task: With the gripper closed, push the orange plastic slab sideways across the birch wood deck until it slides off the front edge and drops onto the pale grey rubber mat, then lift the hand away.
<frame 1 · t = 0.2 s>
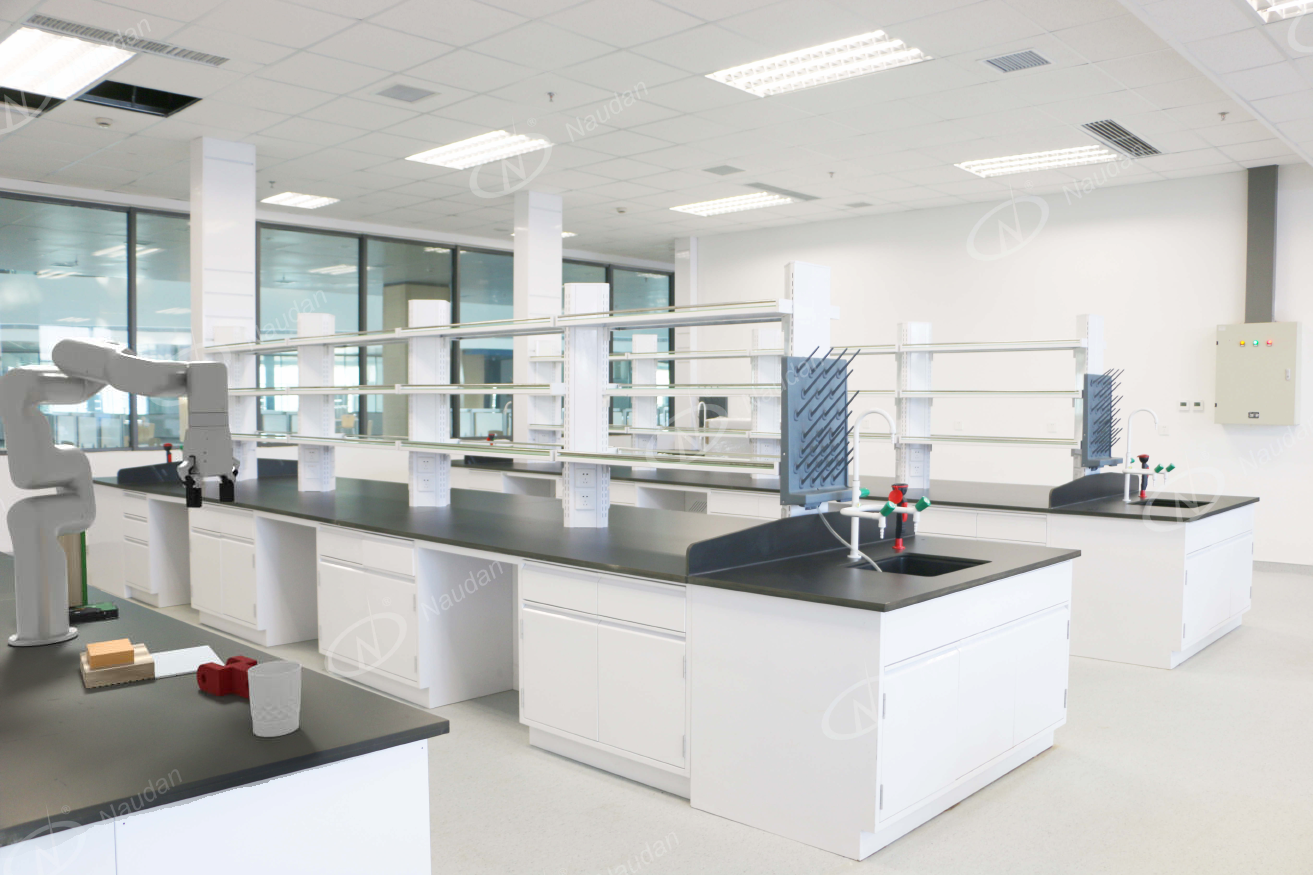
hand: (211, 504, 185), 31 cm above the counter, tool pointing down, fingers open, 9 cm apart
deck: (116, 672, 173), on the counter
hardback book: (63, 607, 229), on the counter
disk drive: (81, 620, 217), on the counter
mat: (183, 661, 180), on the counter
mechanical linkage: (238, 693, 162), on the counter
slab: (110, 658, 172), point 3 cm above the counter, touching deck
white cup: (276, 730, 143), on the counter
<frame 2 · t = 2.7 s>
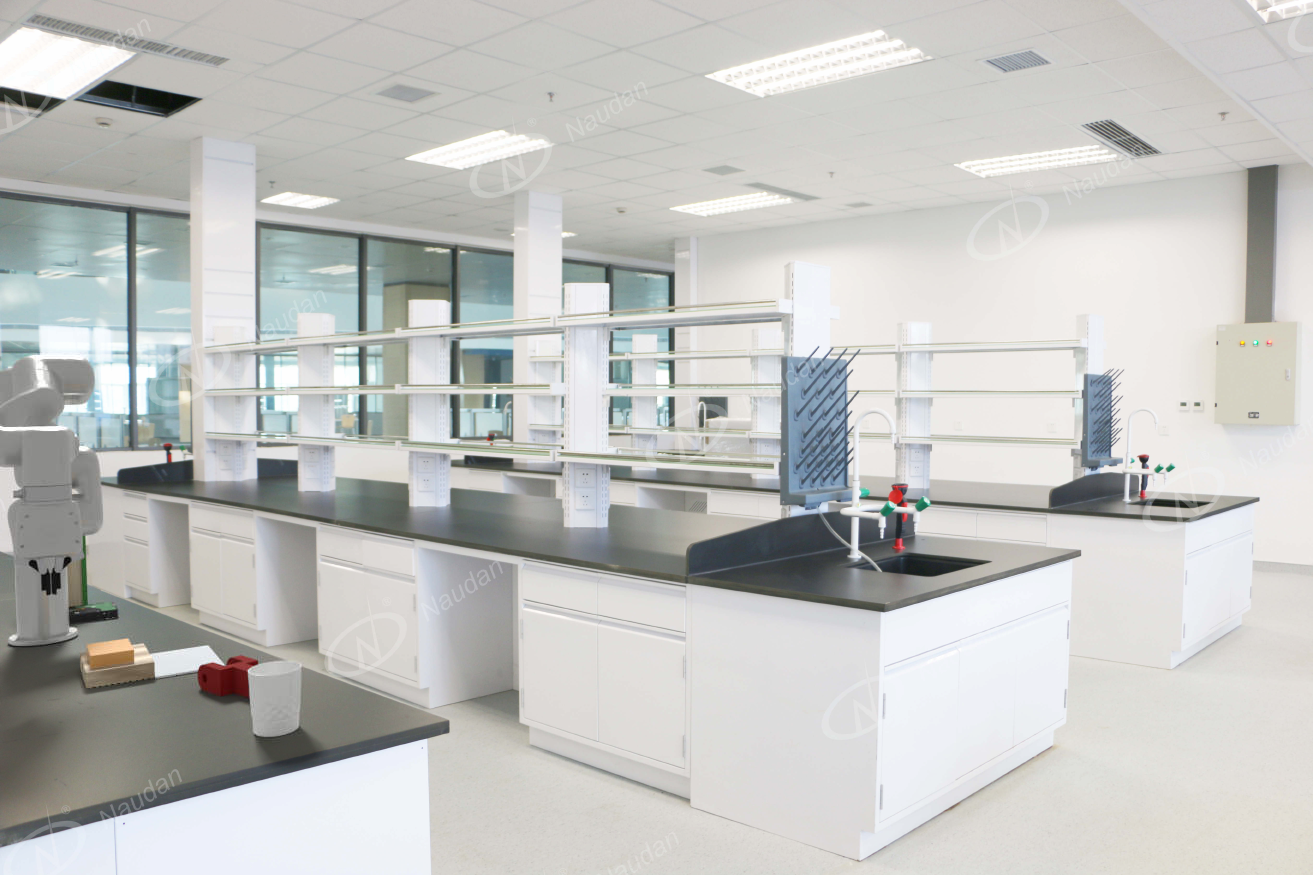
hand: (51, 593, 166), 17 cm above the counter, tool pointing down, fingers closed
nothing on the counter moved.
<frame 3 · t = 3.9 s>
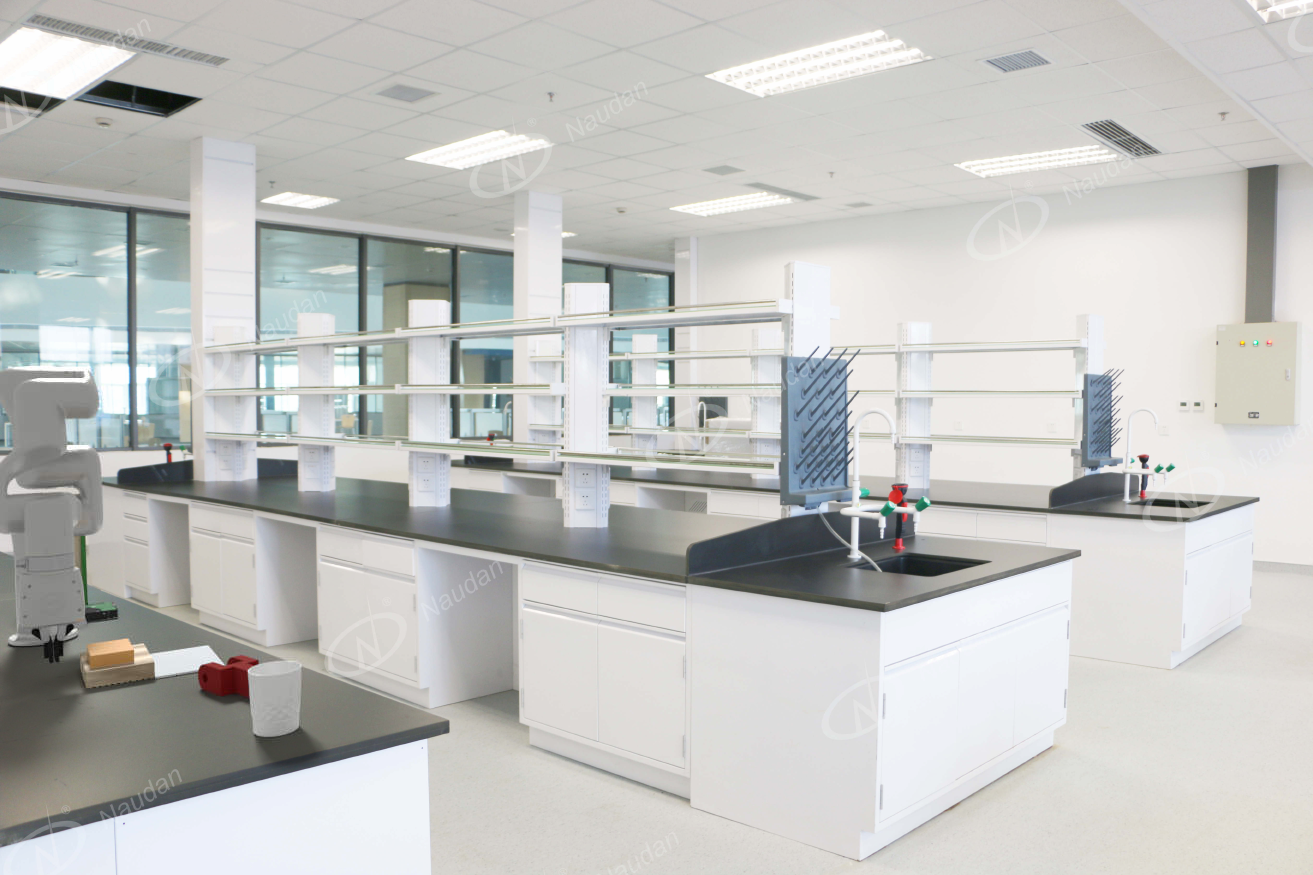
hand: (53, 660, 167), 4 cm above the counter, tool pointing down, fingers closed
nothing on the counter moved.
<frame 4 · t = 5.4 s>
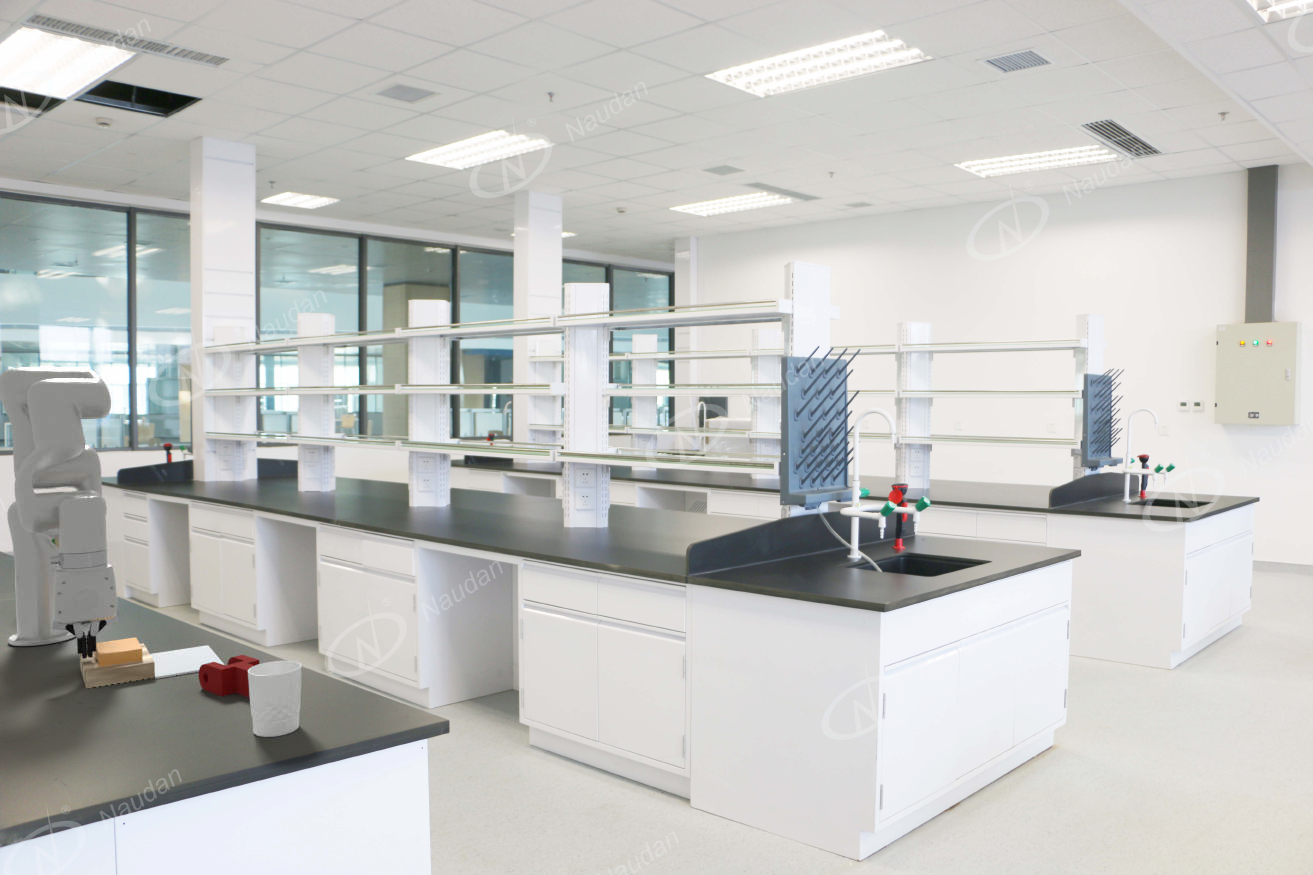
hand: (87, 656, 170), 4 cm above the counter, tool pointing down, fingers closed
slab: (118, 656, 173), point 3 cm above the counter, touching deck
everything else where it was.
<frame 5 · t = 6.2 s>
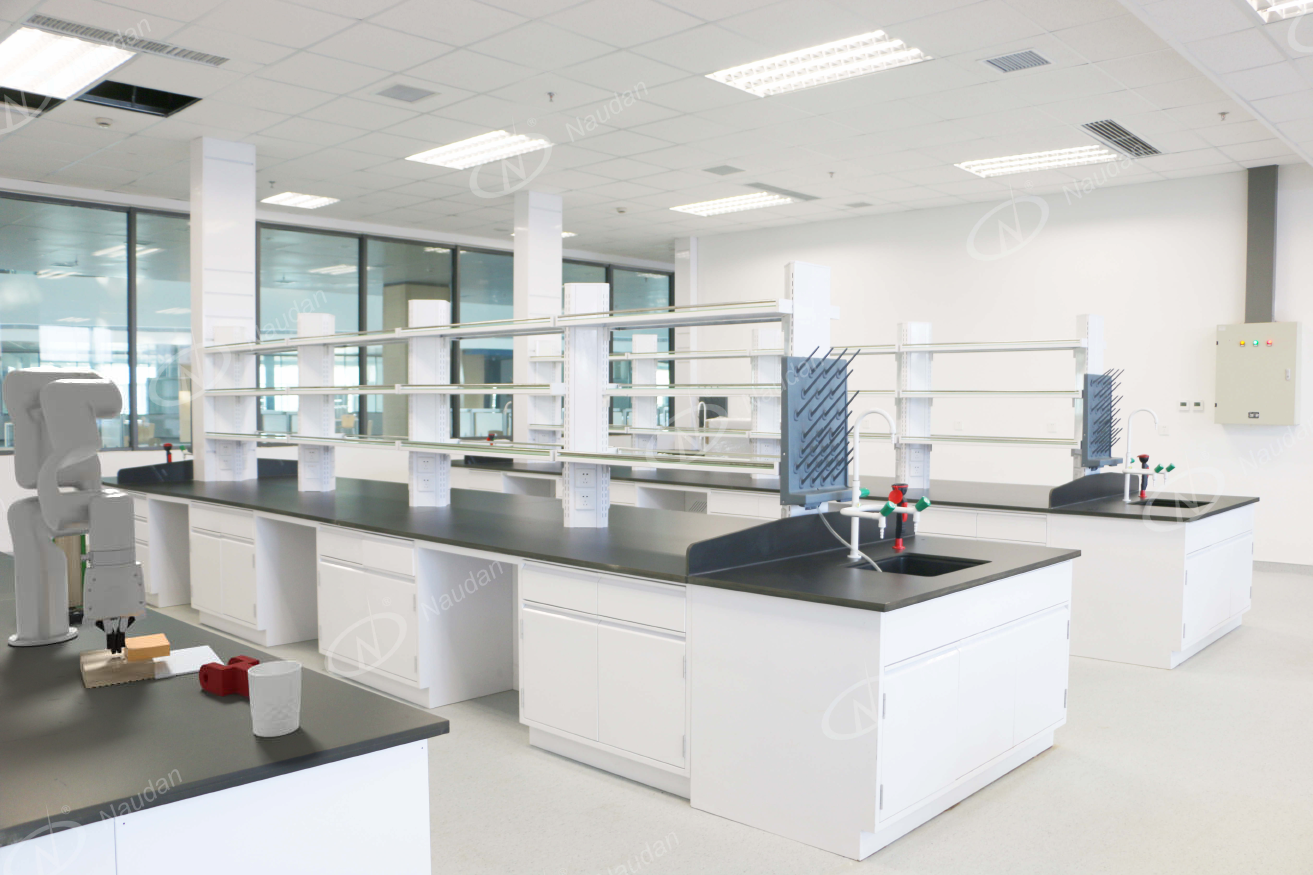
hand: (116, 651, 173), 4 cm above the counter, tool pointing down, fingers closed
slab: (146, 652, 176), point 3 cm above the counter, touching gripper
everything else where it was.
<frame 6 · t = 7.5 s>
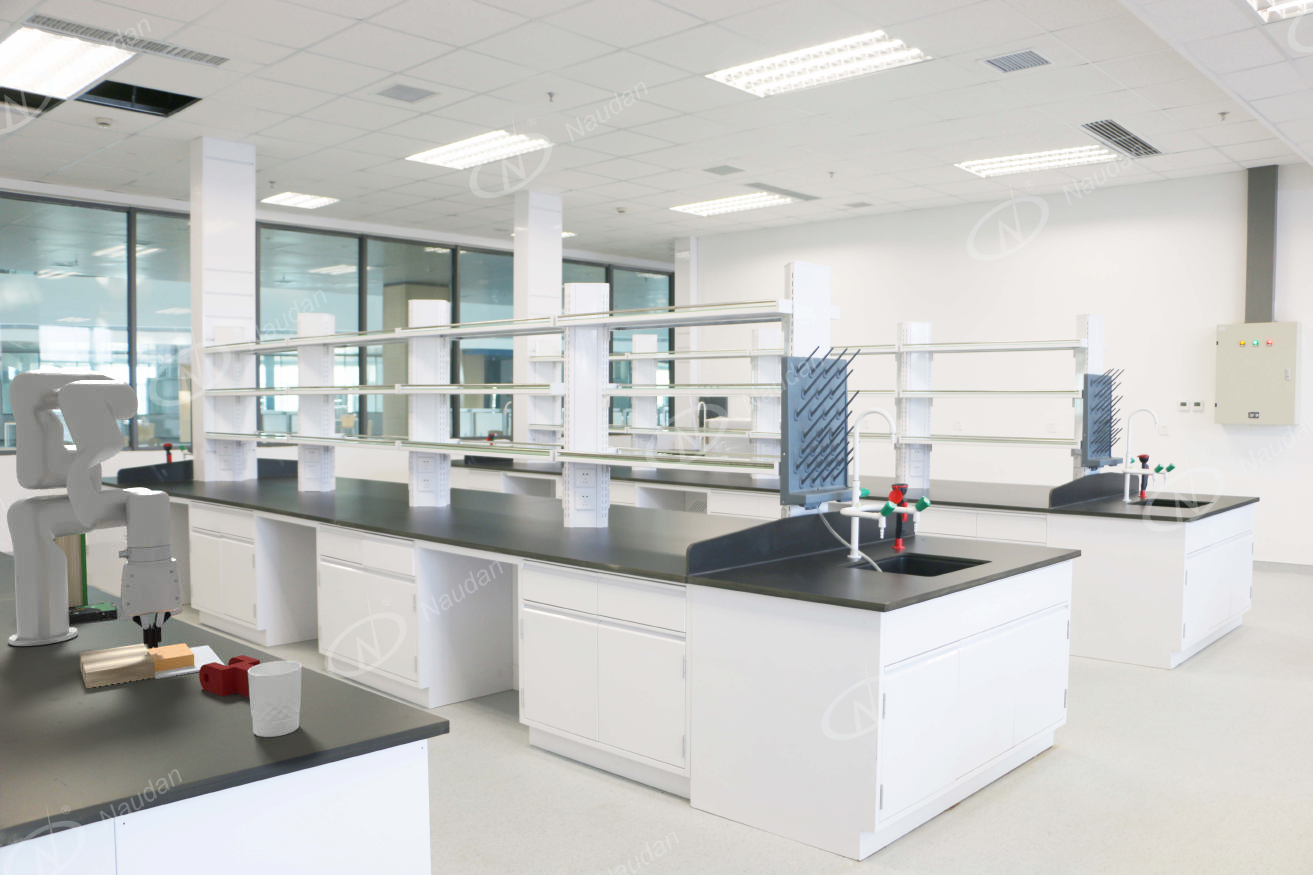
hand: (152, 646, 177), 4 cm above the counter, tool pointing down, fingers closed
slab: (170, 662, 178), resting on mat
everything else where it was.
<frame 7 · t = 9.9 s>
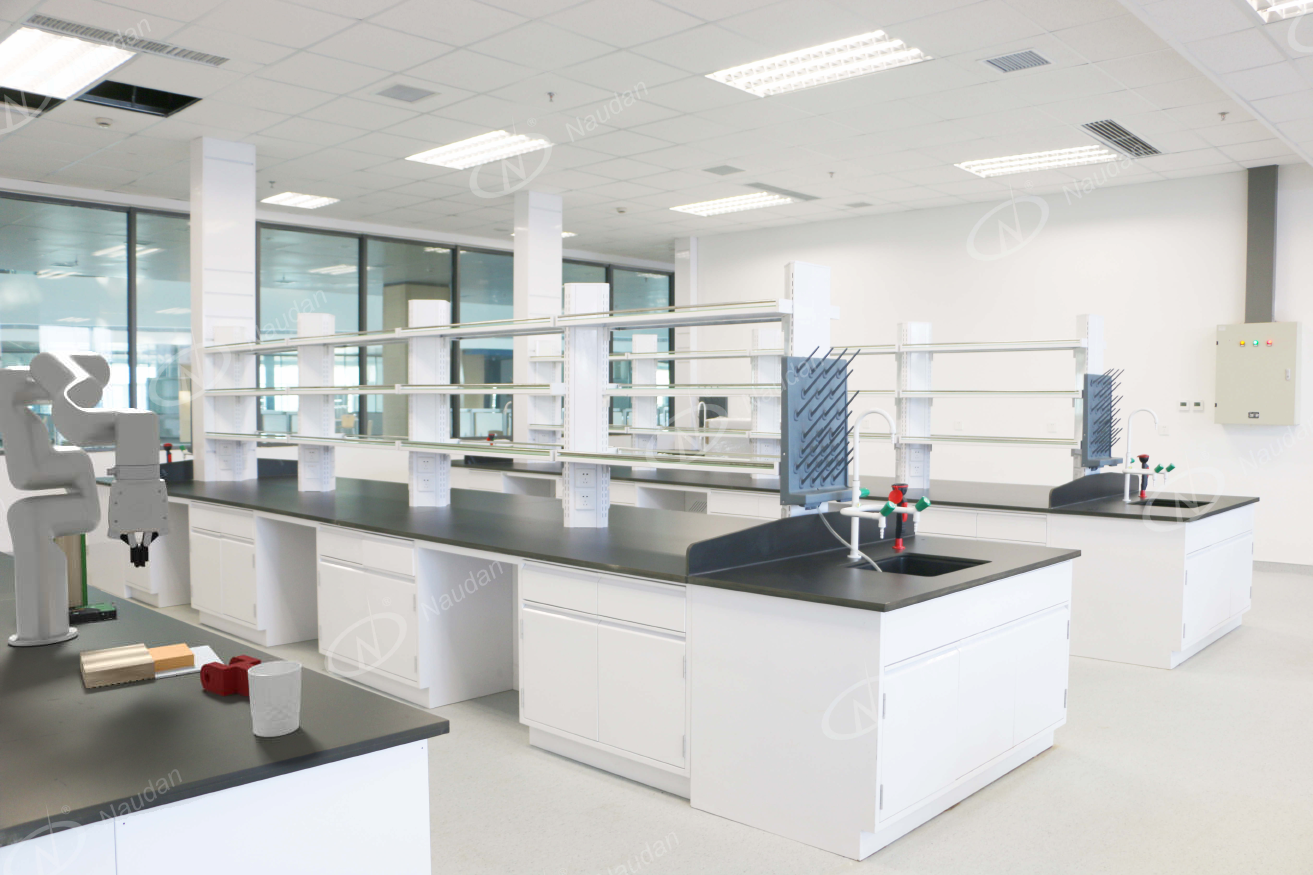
hand: (139, 565, 177), 20 cm above the counter, tool pointing down, fingers closed
nothing on the counter moved.
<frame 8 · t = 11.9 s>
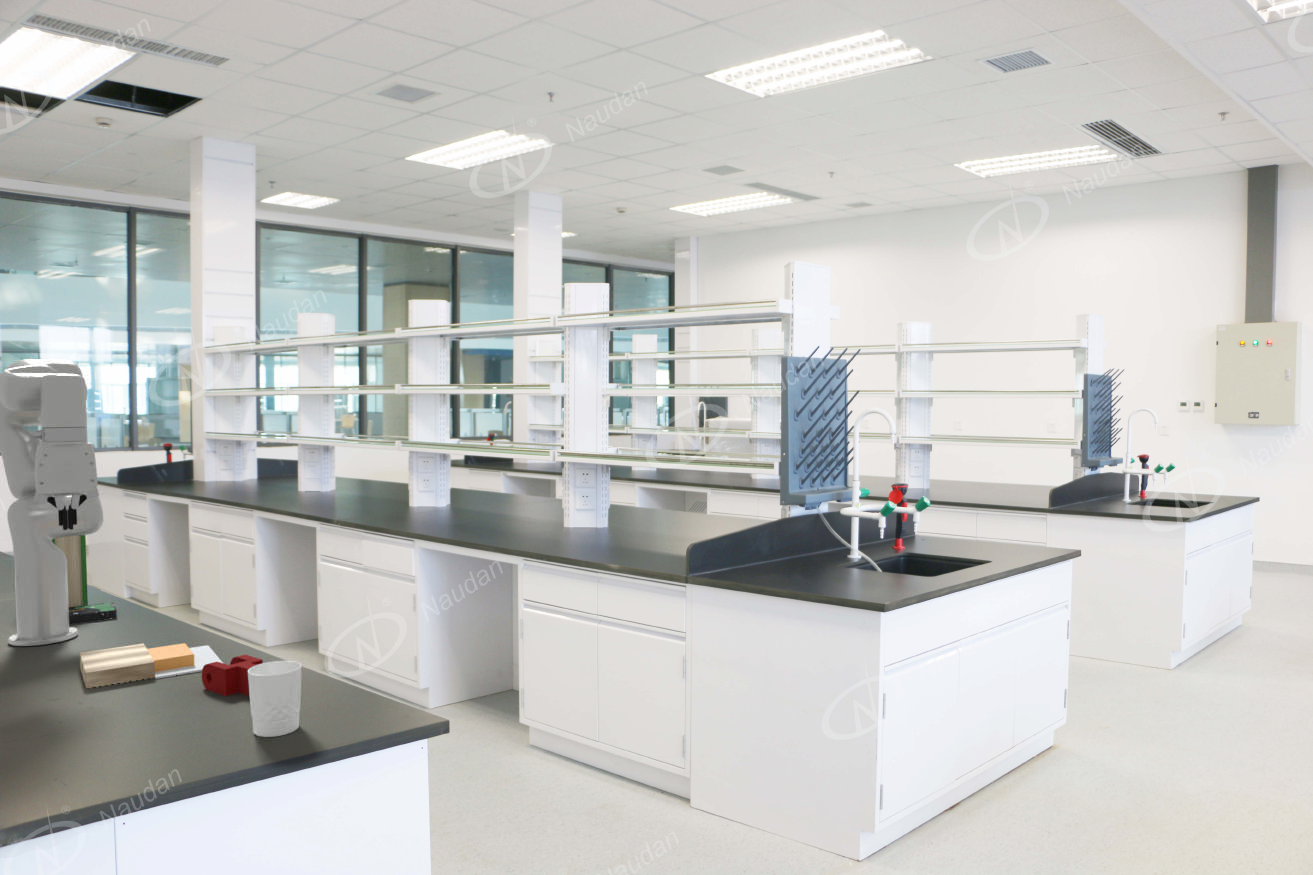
hand: (68, 528, 178), 27 cm above the counter, tool pointing down, fingers closed
nothing on the counter moved.
at the end: slab inside the target area (2.9 cm from its centre), resting on mat; slab touching mat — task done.
